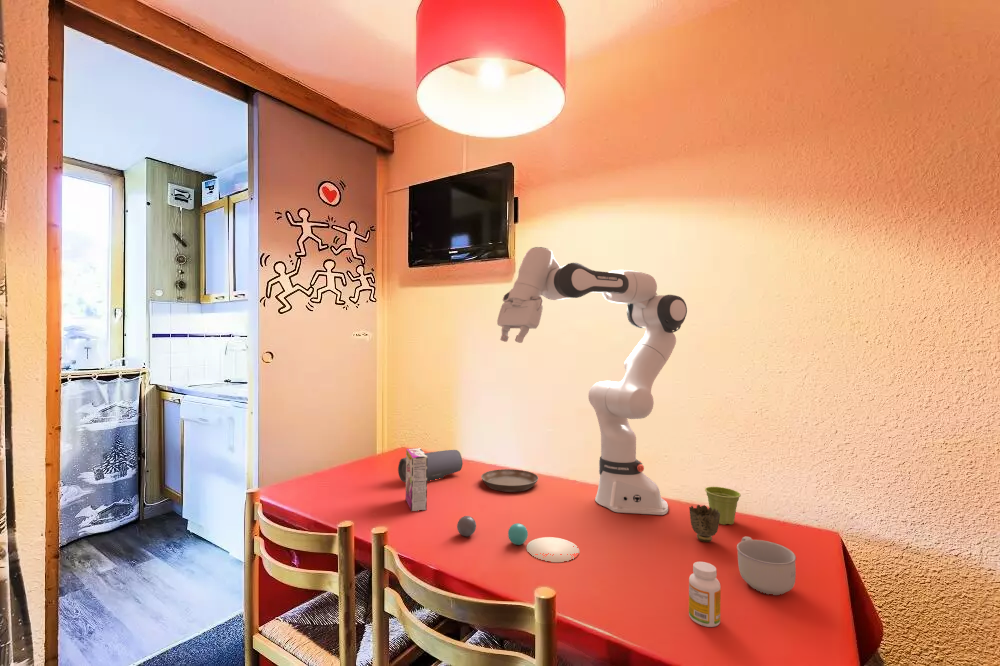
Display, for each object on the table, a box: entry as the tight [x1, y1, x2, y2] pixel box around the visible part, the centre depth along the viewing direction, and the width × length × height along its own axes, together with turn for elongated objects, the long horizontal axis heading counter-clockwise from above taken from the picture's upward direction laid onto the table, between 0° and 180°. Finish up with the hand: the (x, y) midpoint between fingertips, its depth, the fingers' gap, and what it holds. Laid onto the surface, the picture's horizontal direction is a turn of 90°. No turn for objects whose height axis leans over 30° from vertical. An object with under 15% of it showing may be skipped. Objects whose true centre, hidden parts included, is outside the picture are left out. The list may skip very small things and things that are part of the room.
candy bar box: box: [405, 447, 428, 512], centre depth 137 cm, size 11×5×16 cm, turn 22°
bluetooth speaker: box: [397, 449, 464, 483], centre depth 163 cm, size 23×9×10 cm, turn 130°
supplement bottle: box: [688, 561, 722, 628], centre depth 83 cm, size 5×5×10 cm
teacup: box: [736, 536, 797, 596], centre depth 96 cm, size 14×11×8 cm
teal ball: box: [507, 522, 529, 546], centre depth 112 cm, size 5×5×5 cm
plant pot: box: [704, 486, 741, 526], centre depth 130 cm, size 9×9×9 cm
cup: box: [688, 504, 720, 543], centre depth 117 cm, size 8×7×8 cm
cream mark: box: [526, 536, 580, 563], centre depth 109 cm, size 13×13×1 cm
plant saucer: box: [480, 468, 539, 493], centre depth 159 cm, size 21×21×3 cm
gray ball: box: [456, 515, 477, 538], centre depth 116 cm, size 5×5×5 cm
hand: (510, 341), depth 129 cm, fingers open, 8 cm apart
